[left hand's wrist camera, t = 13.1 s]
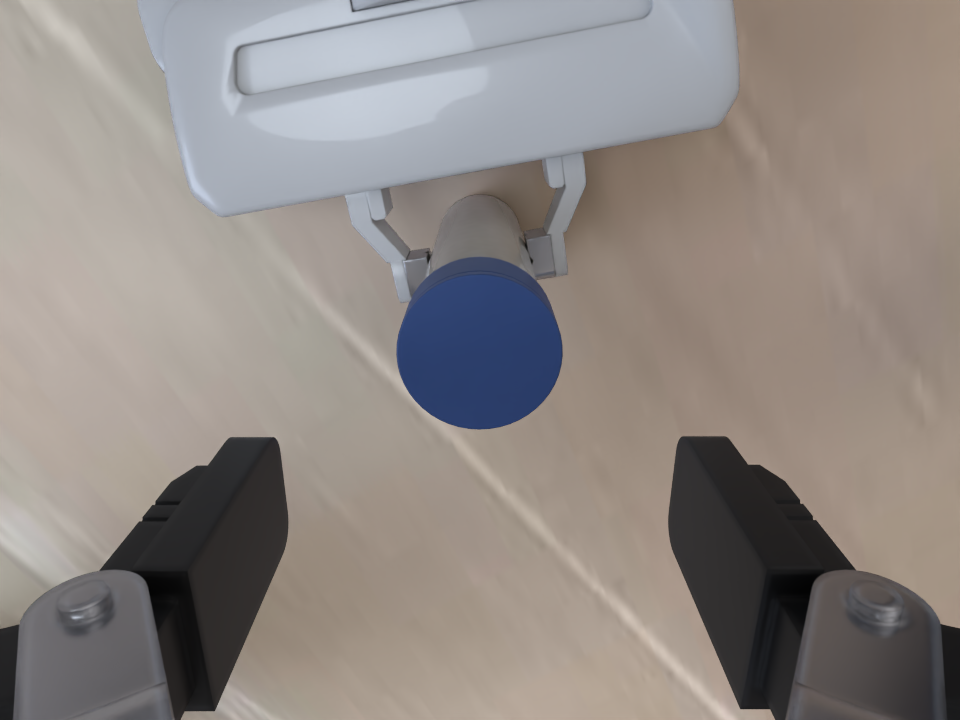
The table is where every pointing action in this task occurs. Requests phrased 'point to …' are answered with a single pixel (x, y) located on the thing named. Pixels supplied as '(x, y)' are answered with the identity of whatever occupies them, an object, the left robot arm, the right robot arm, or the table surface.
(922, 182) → the table surface
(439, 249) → the beige cylinder
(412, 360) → the lid
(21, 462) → the table surface
